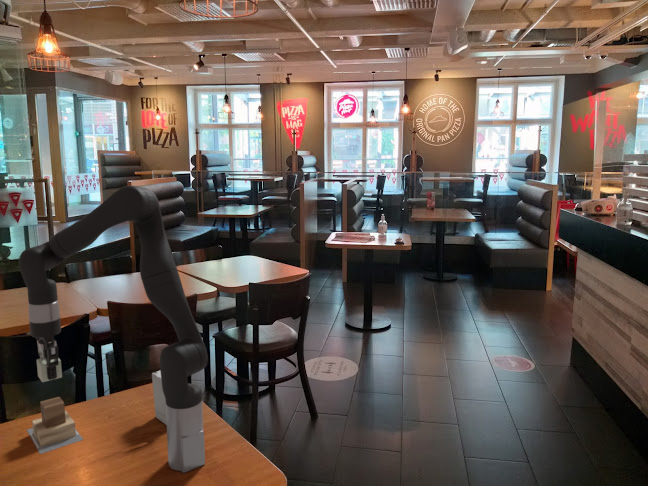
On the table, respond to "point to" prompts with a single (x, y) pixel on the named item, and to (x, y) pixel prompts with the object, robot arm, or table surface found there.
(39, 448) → the plate
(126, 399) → the table surface
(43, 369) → the block
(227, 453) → the table surface
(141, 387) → the table surface
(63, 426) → the pedestal
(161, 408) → the skincare box
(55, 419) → the block
